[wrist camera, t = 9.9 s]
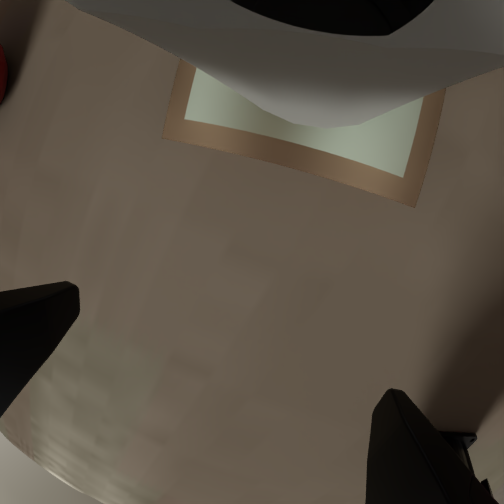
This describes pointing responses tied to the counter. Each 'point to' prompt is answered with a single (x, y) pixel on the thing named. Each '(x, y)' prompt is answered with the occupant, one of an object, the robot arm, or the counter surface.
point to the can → (322, 49)
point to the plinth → (309, 136)
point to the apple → (3, 73)
